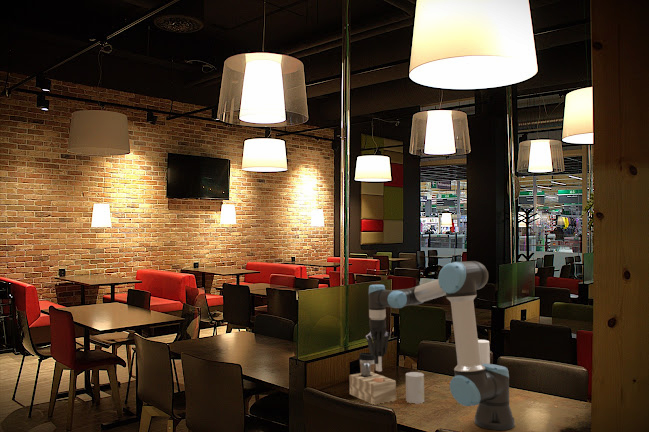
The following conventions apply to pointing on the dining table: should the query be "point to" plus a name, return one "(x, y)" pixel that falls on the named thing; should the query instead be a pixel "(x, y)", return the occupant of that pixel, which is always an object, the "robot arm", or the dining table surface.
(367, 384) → the birch block
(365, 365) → the peg steel
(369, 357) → the coffee cup
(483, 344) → the cylindrical container
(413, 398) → the cup
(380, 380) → the peg terracotta
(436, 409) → the dining table surface
